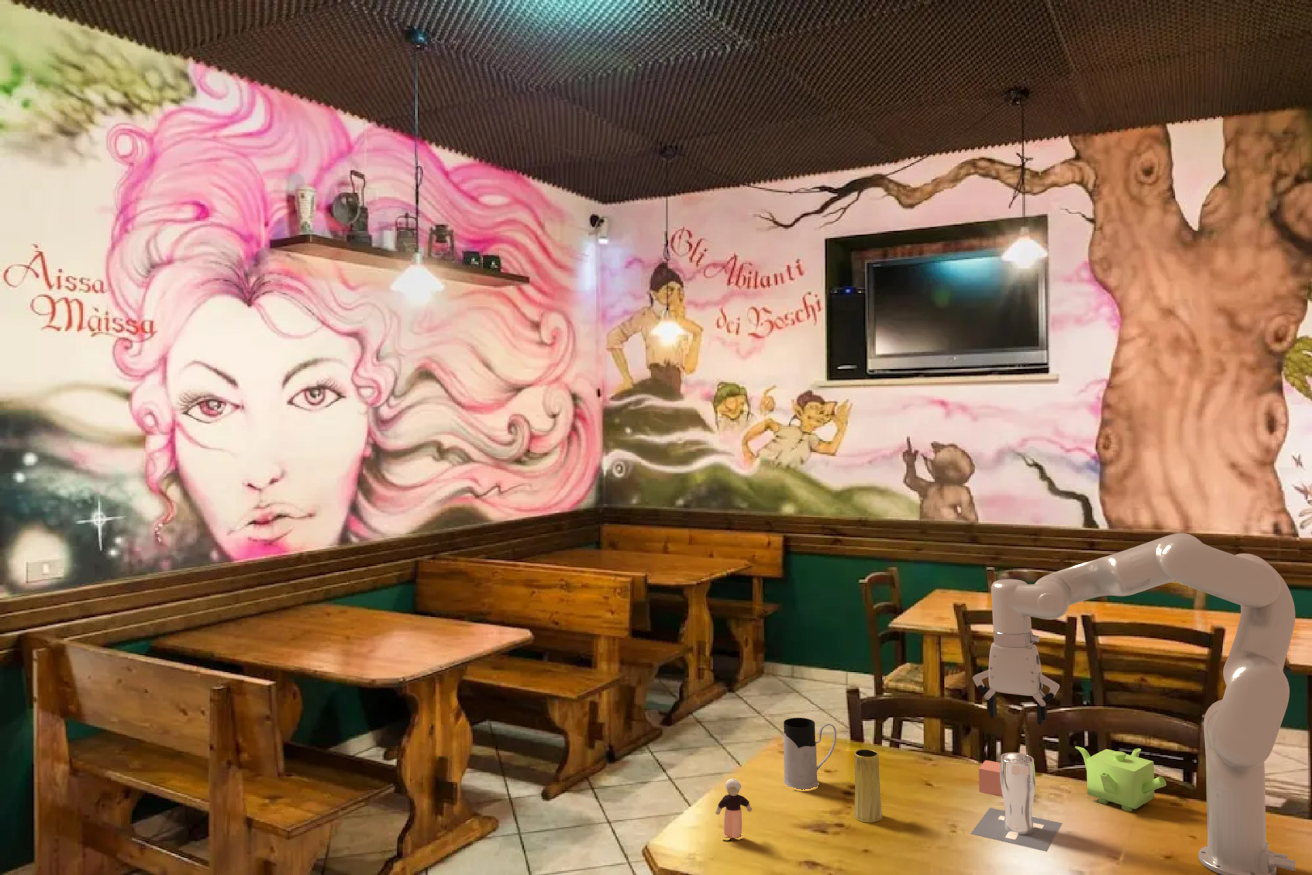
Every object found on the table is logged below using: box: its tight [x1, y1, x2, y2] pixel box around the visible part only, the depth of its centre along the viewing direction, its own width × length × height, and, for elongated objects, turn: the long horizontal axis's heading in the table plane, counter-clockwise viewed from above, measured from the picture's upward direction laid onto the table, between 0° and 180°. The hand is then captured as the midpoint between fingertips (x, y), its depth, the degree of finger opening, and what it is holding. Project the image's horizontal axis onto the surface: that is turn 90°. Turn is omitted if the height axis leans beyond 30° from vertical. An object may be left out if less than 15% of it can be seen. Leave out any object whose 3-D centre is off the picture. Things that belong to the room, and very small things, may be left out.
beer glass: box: [999, 752, 1036, 835], centre depth 192 cm, size 7×7×15 cm
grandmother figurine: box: [714, 777, 753, 839], centre depth 192 cm, size 8×4×13 cm, turn 105°
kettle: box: [1074, 746, 1167, 812], centre depth 204 cm, size 15×14×11 cm
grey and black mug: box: [782, 717, 837, 790], centre depth 220 cm, size 9×14×15 cm, turn 107°
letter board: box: [970, 807, 1063, 852], centre depth 192 cm, size 15×15×1 cm
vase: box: [853, 748, 883, 824], centre depth 200 cm, size 6×6×14 cm
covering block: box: [978, 759, 1003, 798], centre depth 212 cm, size 6×6×6 cm
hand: (1017, 719), depth 191 cm, fingers open, 9 cm apart
